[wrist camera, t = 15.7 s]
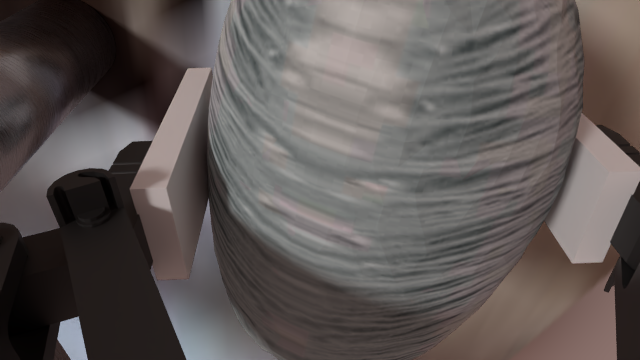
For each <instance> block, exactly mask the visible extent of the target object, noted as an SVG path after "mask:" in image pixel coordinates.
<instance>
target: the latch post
mask: <svg viewBox="0 0 640 360" xmlns="http://www.w3.org/2000/svg"><path fill="white" fill-rule="evenodd" d="M115 55H116V45H115V40H114V37H113V34H112V31H111V29H110V27H109V26H108V24H107V23H106V21H105V20H104V19H103V17H102V16H101V15H100V14H99V13H98V12H97V11H95V10H94V9H93V8H92V7H90V6H89V5H87V4H86V3H84V2H82V1H80V0H38V1H37V2H35V3H33V4H31V5H30V6H28V7H26V8H24V9H23V10H21V11H19V12H17V13H16V14H14V15H12V16H10V17H9V18H7V19H5V20H3V21H2V22H0V192H1V191H2V190H3V188H4V187H5V186H6V185H7V184H8V183H9V182H10V181H11V179H12V178H13V177H14V176H15V175H16V174H17V173H18V172H19V170H20V169H21V168H22V167H23V166H24V165H25V164H26V163H27V161H28V160H29V159H30V158H31V157H32V156H33V155H34V154H35V152H36V151H37V150H38V149H39V148H40V147H41V146H42V145H43V143H44V142H45V141H46V140H47V139H48V138H49V137H50V136H51V134H52V133H53V132H54V131H55V130H56V129H57V128H58V127H59V125H60V124H61V123H62V122H63V121H64V120H65V119H66V118H67V116H68V115H69V114H70V113H71V112H72V111H73V110H74V109H75V107H76V106H77V105H78V104H79V103H80V102H81V101H82V100H83V98H84V97H85V96H86V95H87V94H88V93H89V92H90V91H91V89H92V88H93V87H94V86H95V85H96V84H97V83H98V82H99V81H100V79H101V78H102V77H103V76H104V75H105V74H106V73H107V72H108V70H109V69H110V68H111V66H112V65H113V62H114V60H115Z"/></svg>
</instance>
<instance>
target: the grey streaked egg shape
mask: <svg viewBox="0 0 640 360" xmlns="http://www.w3.org/2000/svg"><path fill="white" fill-rule="evenodd" d="M583 75H584V54H583V46H582V39H581V31H580V22H579V13H578V8H577V5H576V2H575V0H231V3H230V6H229V8H228V11H227V14H226V17H225V21H224V24H223V28H222V32H221V36H220V40H219V44H218V49H217V55H216V61H215V66H214V72H213V79H212V87H211V96H210V103H209V115H208V133H207V182H208V194H209V206H210V215H211V225H212V233H213V240H214V251H215V254H216V257H217V261H218V264H219V268H220V272H221V276H222V279H223V282H224V285H225V288H226V291H227V294H228V297H229V300H230V302H231V305H232V307H233V310H234V312H235V314H236V316H237V318H238V320H239V322H240V324H241V325H242V326H243V328H244V329H245V330H246V332H247V333H248V335H249V336H250V337H251V338H252V339H253V340H254V341H255V342H256V343H257V344H258V345H259V346H260V347H261V348H262V349H263V350H265V351H267V352H269V353H271V354H273V355H274V356H275V357H276V358H278V359H279V360H412V359H414V358H416V357H418V356H420V355H422V354H424V353H425V352H427V351H428V350H430V349H431V348H433V347H434V346H436V345H437V344H438V343H439V342H441V341H442V340H443V339H444V338H445V337H447V336H448V335H449V334H451V333H452V332H453V331H454V330H456V329H457V328H458V327H459V326H460V325H461V324H462V323H463V322H464V321H465V320H467V319H468V318H469V317H470V316H471V315H472V314H474V313H475V312H476V311H477V310H478V309H479V308H480V307H481V306H482V305H483V304H484V303H485V301H486V300H487V299H488V298H489V297H490V296H491V294H492V293H493V292H494V291H495V289H496V288H497V287H498V286H499V284H500V283H501V282H502V281H503V279H504V278H505V277H506V276H507V274H508V273H509V272H510V271H511V270H512V268H513V267H514V266H515V265H516V264H517V262H518V261H519V260H520V259H521V257H522V255H523V253H524V251H525V249H526V247H527V246H528V244H529V243H530V242H531V240H532V239H533V238H534V236H535V235H536V234H537V232H538V230H539V228H540V227H541V225H542V223H543V221H544V220H545V218H546V216H547V215H548V213H549V211H550V209H551V207H552V205H553V203H554V200H555V198H556V196H557V194H558V192H559V190H560V187H561V185H562V182H563V178H564V175H565V171H566V168H567V164H568V161H569V157H570V154H571V151H572V147H573V144H574V141H575V138H576V134H577V131H578V126H579V122H580V118H581V113H582V109H583Z"/></svg>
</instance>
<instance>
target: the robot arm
mask: <svg viewBox="0 0 640 360" xmlns="http://www.w3.org/2000/svg"><path fill="white" fill-rule="evenodd" d="M212 79H213V75H212V68H188V69H187V71H186V73H185V75H184V77H183V79H182V81H181V83H180V85H179V88H178V90H177V92H176V94H175V96H174V98H173V100H172V102H171V104H170V106H169V108H168V110H167V112H166V115H165V117H164V119H163V121H162V123H161V125H160V127H159V129H158V131H157V133H156V135H155V137H154V139H153V141H138V142H132V143H130V144H129V145H128V146H126V147H125V148H124V149H123V150H121V151H120V152H119V154H118V155H117V157H116V159H115V161H114V162H113V165H112V166H111V168H110V169H109V171H107V170H104V169H94V168H89V169H84V170H78V171H75V172H72V173H69V174H67V175H64V176H63V177H61V178H59V179H58V180H56V181H55V182H54V183H53V184H52V185H51V186H50V187H49V188H48V191H47V199H48V201H49V203H50V206H51V208H52V210H53V213H54V215H55V217H56V220H57V222H58V224H59V226H60V228H58V229H54V230H51V231H48V232H43V233H39V234H35V235H31V236H27V237H23V238H22V236H21V234H20V232H19V230H18V229H17V228H16V227H15V226H14V225H11V224H7V223H0V360H54V354H55V348H56V343H57V337H58V332H59V326H60V322H61V321H64V320H68V319H71V318H75V317H78V316H79V320H80V325H81V329H82V334H83V339H84V343H85V348H86V353H87V358H88V360H186V358H185V355H184V353H183V350H182V348H181V345H180V343H179V340H178V338H177V335H176V333H175V330H174V328H173V325H172V323H171V321H170V318H169V316H168V313H167V311H166V308H165V306H164V303H163V301H162V298H161V296H160V293H159V291H158V288H157V286H156V284H155V281H154V279H153V276H152V274H151V271H150V269H151V266H152V265H153V268H154V272H155V275H156V278H157V280H177V279H189V276H190V272H191V268H192V263H193V259H194V255H195V251H196V247H197V243H198V239H199V235H200V231H201V227H202V223H203V219H204V215H205V211H206V206H207V202H208V198H209V194H208V182H207V133H208V115H209V103H210V96H211V87H212ZM639 153H640V152H639V151H637V150H636V149H635V148H634V147H633V146H630V143H628V142H627V141H626V140H625V139H624V138H623V137H622V136H621V135H620V134H618V133H616V132H614V131H612V130H610V129H608V128H606V127H604V126H602V125H594V124H593V123H592V122H591V121H590V120H589V119H588V118H587V117H586V116H585V115H584V114H583V113H581V118H580V122H579V126H578V131H577V134H576V138H575V141H574V144H573V147H572V151H571V154H570V157H569V161H568V164H567V168H566V171H565V175H564V178H563V182H562V185H561V187H560V190H559V192H558V194H557V196H556V198H555V200H554V203H553V205H552V207H551V209H550V211H549V213H548V215H547V216H546V218H545V220H544V221H545V223H546V224H547V226H548V228H549V229H550V231H551V232H552V234H553V235H554V237H555V238H556V240H557V241H558V243H559V244H560V246H561V247H562V249H563V250H564V252H565V253H566V255H567V256H568V258H569V259H570V261H571V262H572V263H597V262H603V260H604V258H605V256H606V253H607V251H608V249H609V247H610V245H611V244H612V245H613V247H614V248H615V249H616V250H617V252H618V253H619V254H620V257H619V259H618V261H617V263H616V265H615V267H614V269H613V271H612V273H611V275H610V277H609V279H608V281H607V284H606V286H605V289H604V291H606V292H609V291H610V289H611V287H612V286H614V285H615V310H616V341H617V360H640V154H639Z"/></svg>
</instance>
